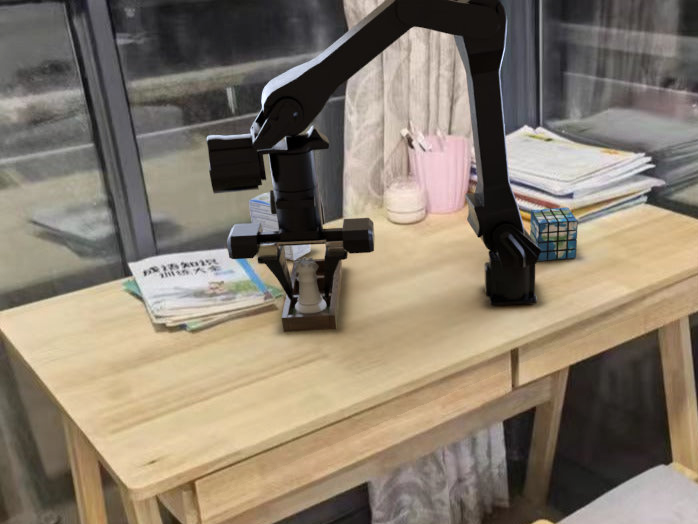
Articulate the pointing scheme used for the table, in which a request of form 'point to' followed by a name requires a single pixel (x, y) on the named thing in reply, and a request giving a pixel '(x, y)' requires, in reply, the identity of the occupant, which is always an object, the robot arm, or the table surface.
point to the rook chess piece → (308, 288)
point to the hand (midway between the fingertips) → (309, 298)
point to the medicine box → (272, 224)
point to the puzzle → (554, 233)
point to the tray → (326, 319)
